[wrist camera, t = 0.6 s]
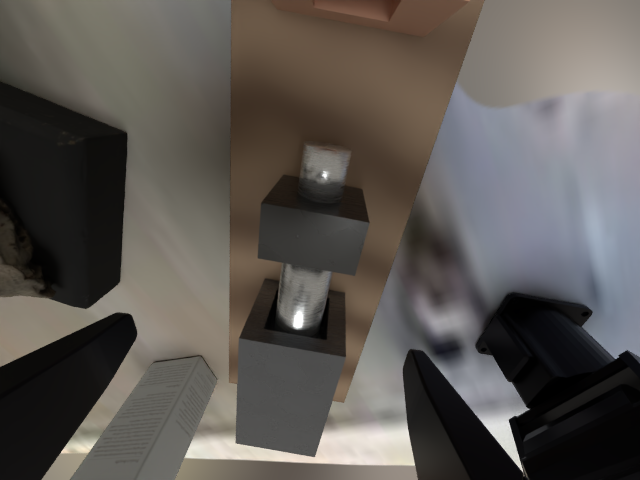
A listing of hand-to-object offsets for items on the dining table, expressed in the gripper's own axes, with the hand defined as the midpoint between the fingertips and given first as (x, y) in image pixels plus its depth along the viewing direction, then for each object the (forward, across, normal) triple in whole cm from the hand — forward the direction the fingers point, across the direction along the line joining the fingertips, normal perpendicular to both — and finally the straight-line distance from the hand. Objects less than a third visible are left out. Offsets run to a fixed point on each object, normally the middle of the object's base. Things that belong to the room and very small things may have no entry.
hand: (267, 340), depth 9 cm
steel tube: (+11, 0, +6) cm, 12 cm away
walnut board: (+12, 0, +3) cm, 12 cm away
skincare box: (+12, +12, +20) cm, 26 cm away
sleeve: (+12, +1, +12) cm, 17 cm away
